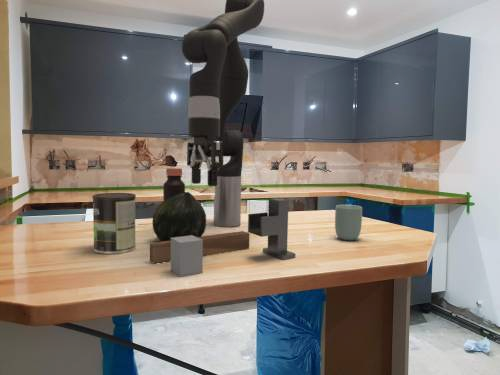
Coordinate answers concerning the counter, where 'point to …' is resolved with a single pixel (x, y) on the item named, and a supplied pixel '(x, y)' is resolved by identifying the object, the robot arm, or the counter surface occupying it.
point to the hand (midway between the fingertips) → (203, 184)
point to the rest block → (186, 255)
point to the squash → (179, 217)
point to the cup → (348, 221)
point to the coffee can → (114, 223)
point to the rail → (210, 246)
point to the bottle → (173, 183)
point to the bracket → (273, 228)
